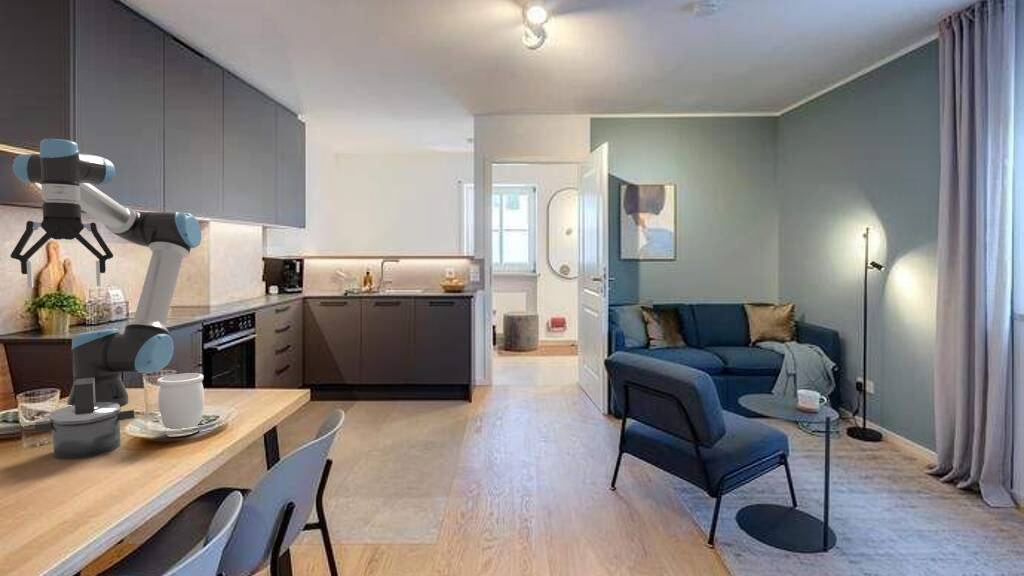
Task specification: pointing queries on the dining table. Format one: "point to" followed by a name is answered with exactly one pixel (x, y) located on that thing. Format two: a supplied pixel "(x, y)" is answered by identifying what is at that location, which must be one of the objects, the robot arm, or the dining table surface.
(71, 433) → the pot
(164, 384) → the jar
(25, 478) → the dining table surface
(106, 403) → the lid
